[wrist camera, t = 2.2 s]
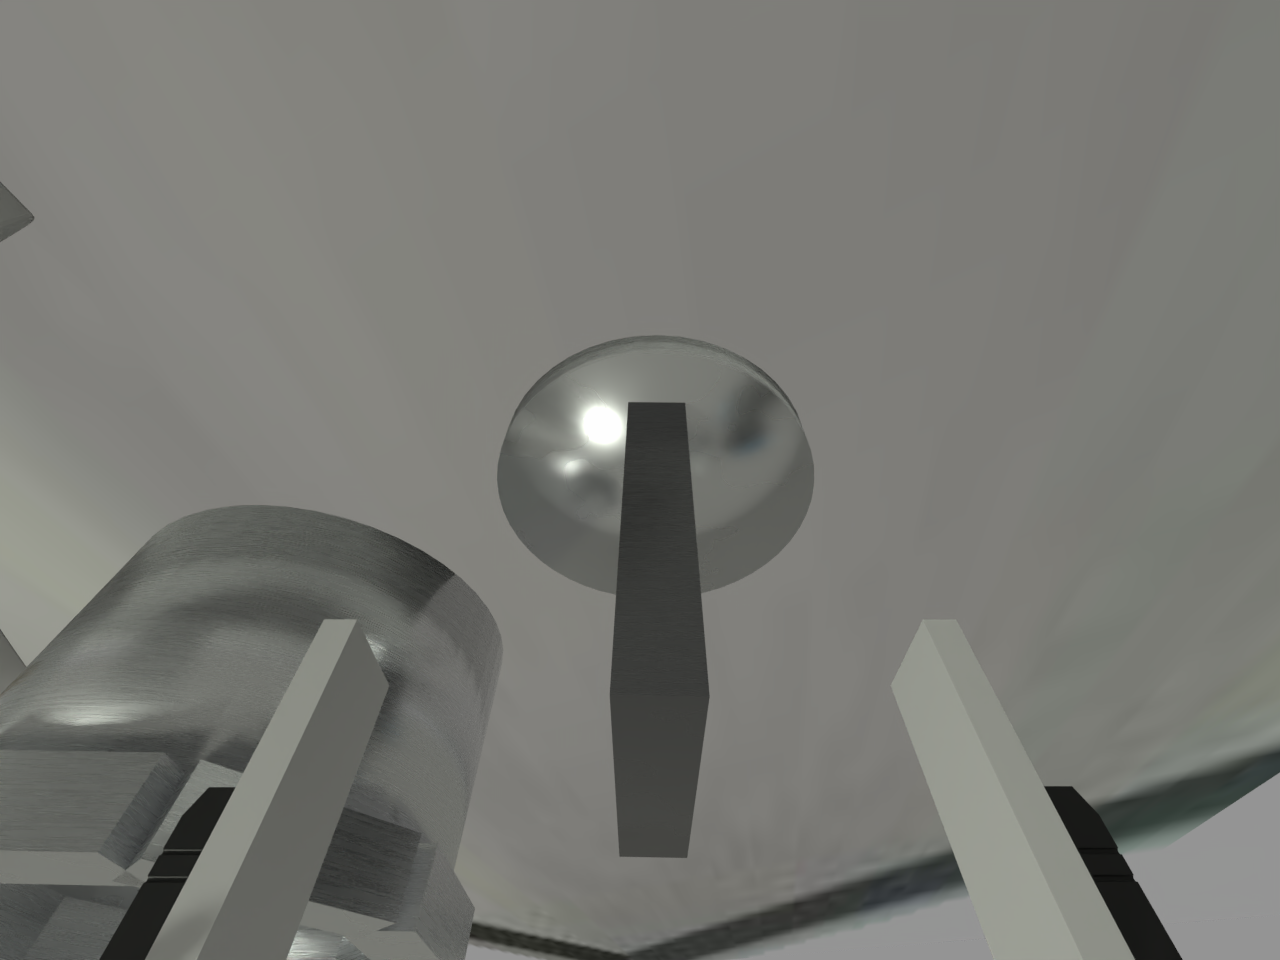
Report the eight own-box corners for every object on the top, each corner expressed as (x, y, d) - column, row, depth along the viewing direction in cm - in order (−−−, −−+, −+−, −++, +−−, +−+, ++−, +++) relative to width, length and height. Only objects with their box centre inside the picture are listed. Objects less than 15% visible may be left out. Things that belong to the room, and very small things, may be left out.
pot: (481, 496, 20) (352, 857, 11) (545, 778, 33) (507, 1041, 25) (25, 491, 20) (-436, 842, 12) (271, 773, 34) (141, 1032, 25)
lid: (835, 335, 16) (1012, 643, 8) (781, 576, 22) (851, 883, 14) (480, 332, 16) (316, 633, 8) (524, 572, 23) (455, 875, 15)
